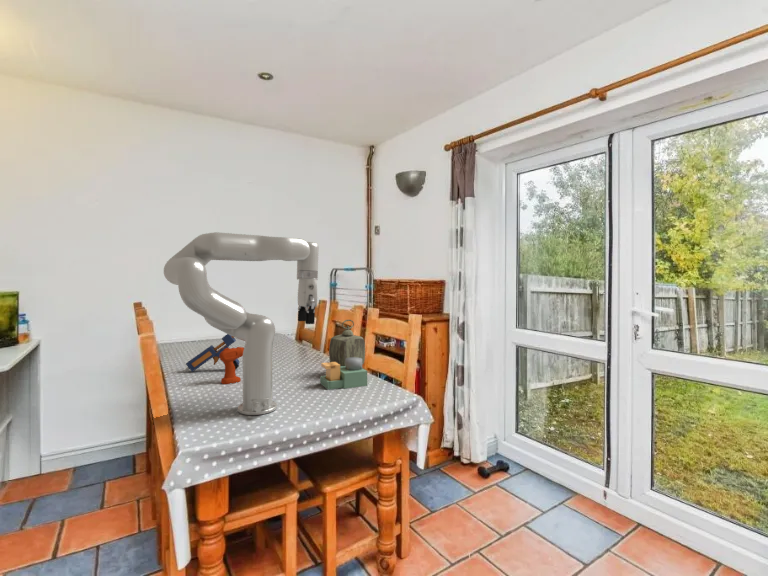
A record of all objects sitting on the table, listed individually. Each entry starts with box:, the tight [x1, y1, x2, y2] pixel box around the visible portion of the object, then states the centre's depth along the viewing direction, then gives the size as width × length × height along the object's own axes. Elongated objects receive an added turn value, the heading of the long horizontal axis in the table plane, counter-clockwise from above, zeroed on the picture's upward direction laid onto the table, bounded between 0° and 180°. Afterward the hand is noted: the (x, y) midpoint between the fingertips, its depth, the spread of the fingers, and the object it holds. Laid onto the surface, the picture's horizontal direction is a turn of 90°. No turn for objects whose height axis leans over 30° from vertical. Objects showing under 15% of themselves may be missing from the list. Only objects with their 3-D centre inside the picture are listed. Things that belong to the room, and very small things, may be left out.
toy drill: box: [219, 346, 245, 385], centre depth 169 cm, size 5×19×15 cm, turn 130°
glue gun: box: [182, 333, 240, 373], centre depth 184 cm, size 6×31×15 cm
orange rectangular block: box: [320, 361, 340, 381], centre depth 162 cm, size 6×6×9 cm
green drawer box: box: [319, 357, 368, 390], centre depth 165 cm, size 12×16×10 cm
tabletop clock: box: [328, 319, 366, 366], centre depth 179 cm, size 14×9×25 cm, turn 136°
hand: (305, 322), depth 147 cm, fingers open, 9 cm apart
